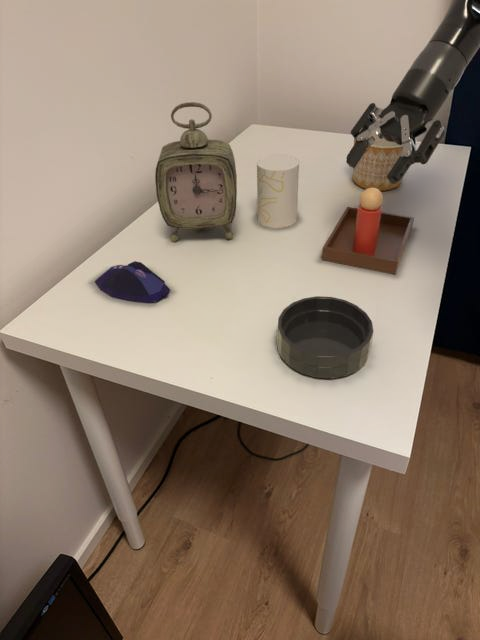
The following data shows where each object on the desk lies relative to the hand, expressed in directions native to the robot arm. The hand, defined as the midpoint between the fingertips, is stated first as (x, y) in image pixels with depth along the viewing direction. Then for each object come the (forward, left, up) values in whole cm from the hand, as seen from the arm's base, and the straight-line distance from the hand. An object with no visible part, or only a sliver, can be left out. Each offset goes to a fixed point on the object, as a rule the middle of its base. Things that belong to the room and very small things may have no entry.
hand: (369, 173), depth 78 cm
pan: (+14, +21, -16) cm, 30 cm away
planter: (-17, -30, -16) cm, 38 cm away
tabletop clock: (+26, -17, -16) cm, 35 cm away
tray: (-4, -4, -16) cm, 17 cm away
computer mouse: (+40, -2, -16) cm, 43 cm away
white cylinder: (+10, -19, -16) cm, 27 cm away
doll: (-1, -1, -16) cm, 16 cm away
